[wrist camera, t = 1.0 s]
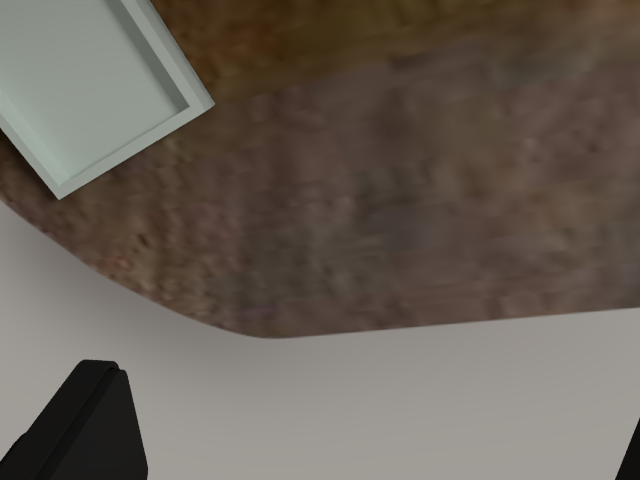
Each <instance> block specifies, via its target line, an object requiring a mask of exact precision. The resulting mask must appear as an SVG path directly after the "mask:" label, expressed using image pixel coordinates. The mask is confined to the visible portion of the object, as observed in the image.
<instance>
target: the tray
mask: <svg viewBox="0 0 640 480" xmlns="http://www.w3.org/2000/svg"><path fill="white" fill-rule="evenodd" d="M214 105H215V103H214V101H213V100H212V98H211V97H210V95H209V93H208V92H207V90H206V89H205V87H204V85H203V84H202V82H201V81H200V79H199V78H198V76H197V74H196V73H195V71H194V70H193V68H192V66H191V65H190V63H189V62H188V60H187V59H186V57H185V55H184V54H183V52H182V51H181V49H180V47H179V46H178V44H177V43H176V41H175V40H174V38H173V36H172V35H171V33H170V32H169V30H168V28H167V27H166V25H165V24H164V22H163V21H162V19H161V17H160V16H159V14H158V13H157V11H156V9H155V8H154V6H153V5H152V3H151V2H150V0H0V128H1V129H2V130H3V132H4V133H5V134H6V135H7V137H8V138H9V139H10V140H11V141H12V143H13V144H14V145H15V146H16V148H17V149H18V150H19V151H20V153H21V154H22V155H23V156H24V158H25V159H26V160H27V161H28V162H29V164H30V165H31V166H32V167H33V169H34V170H35V171H36V172H37V174H38V175H39V176H40V177H41V179H42V180H43V181H44V182H45V183H46V185H47V186H48V187H49V188H50V190H51V191H52V192H53V193H54V195H55V196H56V197H57V198H58V199H59V200H60V199H61V198H63V197H64V196H66V195H68V194H69V193H71V192H73V191H74V190H76V189H78V188H79V187H81V186H83V185H84V184H86V183H88V182H89V181H91V180H93V179H94V178H96V177H98V176H99V175H101V174H103V173H104V172H106V171H108V170H109V169H111V168H113V167H114V166H116V165H118V164H119V163H121V162H123V161H124V160H126V159H128V158H129V157H131V156H132V155H134V154H136V153H137V152H139V151H141V150H142V149H144V148H146V147H147V146H149V145H151V144H152V143H154V142H156V141H157V140H159V139H161V138H162V137H164V136H166V135H167V134H169V133H171V132H172V131H174V130H176V129H177V128H179V127H181V126H182V125H184V124H186V123H187V122H189V121H191V120H192V119H194V118H195V117H197V116H199V115H200V114H202V113H204V112H205V111H207V110H208V109H210V108H211V107H212V106H214Z"/></svg>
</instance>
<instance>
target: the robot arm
mask: <svg viewBox="0 0 640 480" xmlns="http://www.w3.org/2000/svg"><path fill="white" fill-rule="evenodd" d="M147 476H148V466H147V460H146V456H145V452H144V447H143V443H142V439H141V434H140V429H139V425H138V420H137V416H136V412H135V407H134V403H133V398H132V393H131V389H130V385H129V380H128V376H127V373H126V371H125V370H120V369H119V366H118V364H117V363H116V362H114V361H102V360H82V361H81V362H79V364H78V365H77V366H76V367H75V368H74V370H73V371H72V372H71V374H70V375H69V376H68V378H67V379H66V380H65V382H64V383H63V384H62V386H61V387H60V388H59V390H58V391H57V392H56V394H55V395H54V396H53V398H52V399H51V400H50V402H49V403H48V404H47V405H46V407H45V408H44V409H43V411H42V412H41V413H40V415H39V416H38V417H37V419H36V420H35V421H34V423H33V424H32V426H31V427H30V428H29V430H28V431H27V432H26V433H24V434H23V435H21V436H20V438H19V439H18V440H17V441H16V442H15V443H14V444H13V445H12V447H11V448H10V449H9V451H8V452H7V453H6V455H5V456H4V457H3V459H2V460H1V461H0V480H147ZM615 480H640V419H639V421H638V424H637V426H636V429H635V431H634V434H633V436H632V439H631V441H630V444H629V446H628V449H627V451H626V454H625V456H624V459H623V461H622V464H621V466H620V469H619V471H618V474H617V476H616V479H615Z"/></svg>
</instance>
